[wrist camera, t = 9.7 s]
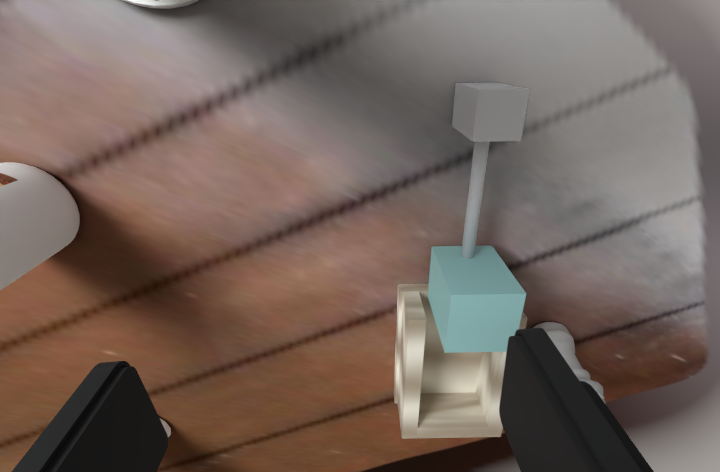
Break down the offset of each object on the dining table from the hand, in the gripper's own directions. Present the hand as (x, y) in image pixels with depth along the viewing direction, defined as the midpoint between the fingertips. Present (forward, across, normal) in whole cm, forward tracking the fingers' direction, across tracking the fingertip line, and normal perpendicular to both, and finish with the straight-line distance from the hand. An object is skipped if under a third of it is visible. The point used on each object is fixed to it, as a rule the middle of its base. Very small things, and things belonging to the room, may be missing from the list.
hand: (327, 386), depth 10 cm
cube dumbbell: (+22, -10, +4) cm, 24 cm away
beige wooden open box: (+21, -8, +19) cm, 30 cm away
